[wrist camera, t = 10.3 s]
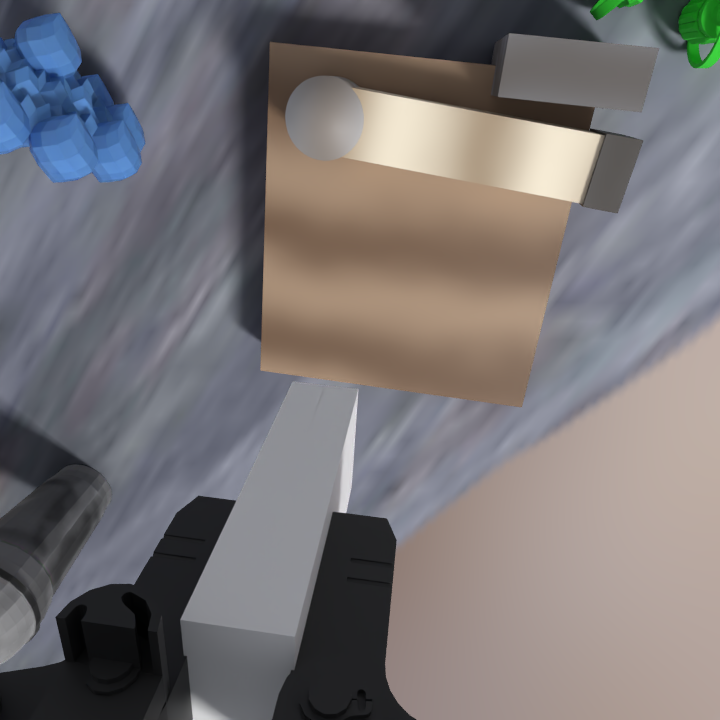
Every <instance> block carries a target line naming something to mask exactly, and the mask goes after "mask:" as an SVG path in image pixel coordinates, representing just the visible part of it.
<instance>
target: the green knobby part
mask: <svg viewBox="0 0 720 720" xmlns="http://www.w3.org/2000/svg"><path fill="white" fill-rule="evenodd" d="M642 1H643V0H599V1H598V2H597V3H596V4H595V5H594V6H593V8H592V9H591V10H590V13H591V14H592V15H593V17H594V18H595V19H596V20H598V19H600V18H602V17H603V16H605V15H606V14H607V13H609V12H610V11H611V10H612V9H614V8H615V7H616V6H617V7H619V8H621V7H624V6H627V7H631V6H634V5H636V4H639V3H641V2H642ZM699 11H700V12H699ZM697 20H698V21H697ZM693 21H694V22H693ZM680 24H681V25H680ZM699 28H700V29H699ZM700 30H701V31H700ZM679 32H680V34H681V36H682V38H683V39H684V40H687V41H688V42H687V55H688V60H689V63H690V65H691V66H692V67H693V68H709V67H711V66H712V65H714V64H715V63H716V62H717V60H718V59H719V58H720V0H690V2H689V3H688V4H687V6H685V7H684V8H683V10H682V13H681V15H680V17H679ZM708 43H714V46H713V47H712V49H711V51H710V53H709V54H708V56H707V57H706V58H705V59H704V60H703V61H702V60H701V58H700V54H699V44H708Z"/></svg>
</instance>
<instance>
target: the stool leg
mask: <svg viewBox="0 0 720 720" xmlns="http://www.w3.org/2000/svg"><path fill="white" fill-rule="evenodd" d="M285 120H286V127H287V131H288V134H289V136H290V138H291V140H292V142H293V143H294V145H295V146H296V147H297V148H298V149H299V150H300V151H301V152H302V153H304V154H305V155H307V156H308V157H311V158H313V159H316V160H322V161H330V160H335V159H338V158H340V157H343V158H349V159H354V160H359V161H364V162H369V163H374V164H380V165H385V166H390V167H395V168H400V169H406V170H411V171H416V172H421V173H426V174H431V175H437V176H442V177H447V178H452V179H457V180H462V181H468V182H473V183H478V184H483V185H488V186H493V187H499V188H504V189H509V190H514V191H519V192H524V193H530V194H535V195H540V196H545V197H550V198H555V199H561V200H566V201H571V202H576V203H579V204H580V205H582V206H583V207H587V208H592V209H597V210H602V211H608V212H613V213H618V211H619V208H620V205H621V202H622V200H623V197H624V194H625V191H626V188H627V185H628V183H629V180H630V177H631V174H632V171H633V168H634V166H635V163H636V160H637V157H638V154H639V151H640V149H641V146H642V143H643V140H640V139H636V138H633V137H629V136H626V135H622V134H616V133H611V132H606V131H601V130H595V129H590V131H588V130H583V129H578V128H573V127H567V126H562V125H557V124H551V123H546V122H541V121H535V120H530V119H525V118H520V117H514V116H509V115H504V114H498V113H493V112H488V111H483V110H477V109H472V108H467V107H461V106H456V105H451V104H446V103H440V102H435V101H430V100H424V99H419V98H414V97H408V96H403V95H398V94H393V93H387V92H382V91H377V90H371V89H366V88H361V87H359V86H358V85H356V84H355V83H354V82H352V81H350V80H349V79H346V78H343V77H338V76H316V77H312V78H309V79H307V80H305V81H304V82H302V83H301V84H300V85H299V86H297V87H296V89H295V90H294V91H293V93H292V94H291V96H290V98H289V100H288V103H287V106H286V113H285Z"/></svg>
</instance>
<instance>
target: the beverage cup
mask: <svg viewBox="0 0 720 720" xmlns="http://www.w3.org/2000/svg"><path fill="white" fill-rule="evenodd" d="M111 497H112V493H111V488H110V486H109V484H108V482H107V480H106V479H105V478H104V477H103V476H102V475H101V474H100V473H99V472H97V471H95V470H94V469H92V468H90V467H87V466H84V465H76V464H74V465H69V466H66V467H64V468H63V469H61V470H60V471H59V472H58V473H57V474H55V475H54V476H53V477H51V478H49V479H48V480H46V481H45V482H44V483H43V484H42V485H40V486H39V487H38V488H37V489H36V490H34V491H33V492H32V493H31V494H30V495H28V496H27V497H26V498H25V499H23V500H22V501H21V502H20V503H19V504H17V505H16V506H15V507H14V508H13V509H11V510H10V511H9V512H8V513H7V514H5V515H4V516H3V517H2V518H1V519H0V665H1V664H3V663H4V662H6V661H7V660H9V659H10V658H12V657H13V656H14V655H15V654H16V653H17V652H18V651H19V650H20V649H21V648H22V647H23V646H24V644H26V643H28V642H29V641H30V640H31V639H32V638H33V637H34V636H35V634H36V633H37V632H38V631H39V628H40V623H41V621H42V620H43V618H44V617H45V614H46V612H47V610H48V608H49V606H50V604H51V601H52V597H53V595H54V594H55V592H56V590H57V589H58V587H59V586H60V584H61V582H62V581H63V579H64V577H65V576H66V574H67V573H68V571H69V569H70V568H71V566H72V565H73V563H74V561H75V560H76V558H77V557H78V555H79V553H80V552H81V550H82V549H83V547H84V545H85V544H86V542H87V541H88V539H89V537H90V536H91V534H92V533H93V531H94V529H95V528H96V526H97V524H98V523H99V521H100V520H101V518H102V516H103V513H104V512H105V510H106V508H107V506H108V505H109V503H110V502H111Z"/></svg>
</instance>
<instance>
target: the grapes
mask: <svg viewBox="0 0 720 720" xmlns="http://www.w3.org/2000/svg"><path fill="white" fill-rule="evenodd" d="M81 63H82V59H81V51H80V48H79V46H78V44H77V42H76V40H75V38H74V36H73V34H72V32H71V30H70V28H69V26H68V25H67V23H66V22H65V20H64V19H63V17H62V16H61V14H60V13H54V14H46V15H42V16H38V17H34V18H31V19H28V20H26V21H23V22H22V23H21V25H20V26H19V27H18V29H17V30H16V33H15V38H13V39H6V40H4V41H3V40H2V38H1V37H0V154H7V153H10V152H12V151H14V150H16V149H18V148H21V147H30V152H31V153H32V155H33V157H34V159H35V160H36V162H37V164H38V166H39V167H40V168H41V169H42V170H43V171H44V173H45V174H46V175H47V176H48V177H49V178H50V180H51V181H52V182H53V183H54V182H67V181H74V180H78V179H80V178H82V177H84V176H86V175H88V174H90V173H91V172H92V173H93V174H94V176H95V177H96V178H97V180H98V181H99V182H113V181H120V180H123V179H125V178H127V177H129V176H131V175H133V174H135V173H137V171H138V169H139V167H140V165H141V163H142V161H141V154H140V152H141V150H142V148H143V146H144V145H145V139H144V132H143V129H142V127H141V125H140V123H139V121H138V119H137V117H136V115H135V113H134V112H133V110H132V108H131V107H130V105H129V104H128V103H124V104H117V105H114V102H113V100H112V98H111V96H110V94H109V92H108V90H107V88H106V86H105V84H104V83H103V81H102V80H101V78H100V77H99V75H98V74H94V75H87V76H81V75H80V74H79V72H78V71H77V69H78V67H79V66H80V64H81Z"/></svg>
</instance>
